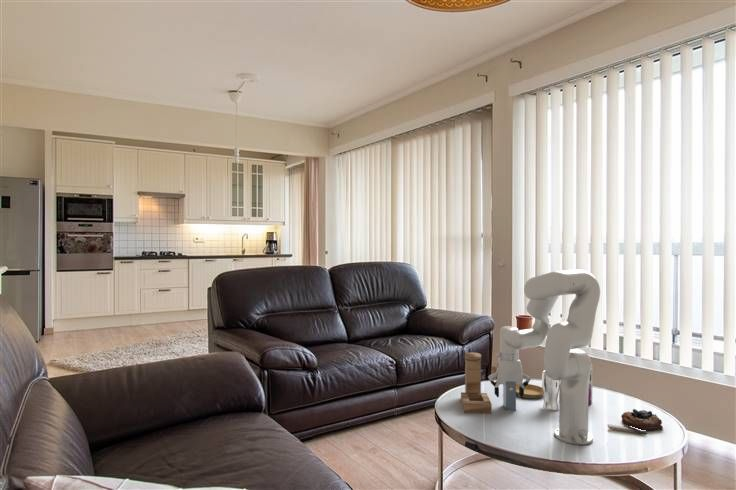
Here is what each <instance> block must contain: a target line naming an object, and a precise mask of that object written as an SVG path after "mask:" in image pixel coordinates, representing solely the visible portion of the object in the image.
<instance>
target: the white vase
mask: <svg viewBox="0 0 736 490" xmlns="http://www.w3.org/2000/svg"><path fill="white" fill-rule="evenodd" d="M560 381H561V380H553V379H551V378H549V377H548V376H547V375H546V373H545V371H544V370H543V371H542V374H541V387H542V389H543V395H542V396H543V403H542V408H543V409H544V410H546V411H551V412H555V411H558V410H559V402H558V399H559V386H560Z"/></svg>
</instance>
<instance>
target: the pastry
mask: <svg viewBox="0 0 736 490" xmlns="http://www.w3.org/2000/svg"><path fill="white" fill-rule="evenodd" d="M621 422H622V423H623V424H624V425H625V424H626V425H625V426H627V425H628V426H627V427H629V426H632V427H635V428H638V429H641V430H646V432H656V431H662V430H663V429H664V428H663V426H662V424H663V422H662V419H660V417H658V415H657V414H656V413H653V412H652V410H649V411H647V410H645V409H643V410H638V409H636V408H633V409H632V411H625V412H623V413H622V414H621ZM655 430H656V431H655Z"/></svg>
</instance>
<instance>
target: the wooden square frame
mask: <svg viewBox="0 0 736 490" xmlns="http://www.w3.org/2000/svg"><path fill="white" fill-rule="evenodd" d="M481 362H482V354H481V353H479V352H473V351H472V352H465V353H464V363H465V364H464V367H465V368H464V379H465V380H464V381H465V382H464V386H465V388H464V389H465V390H464V392H462V391H461V392H460V404H461V407H462V410H464V411H463V413H464V414H483V413H486V415H488V414H489V415H490V414H492V411H493V410H492V408H493V405H492V402H491V400H490V397H489V395H488V393H487V392H482V386H481V385H482V382H481V381H482V377H481V376H482V371H481V370H482V363H481Z"/></svg>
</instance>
